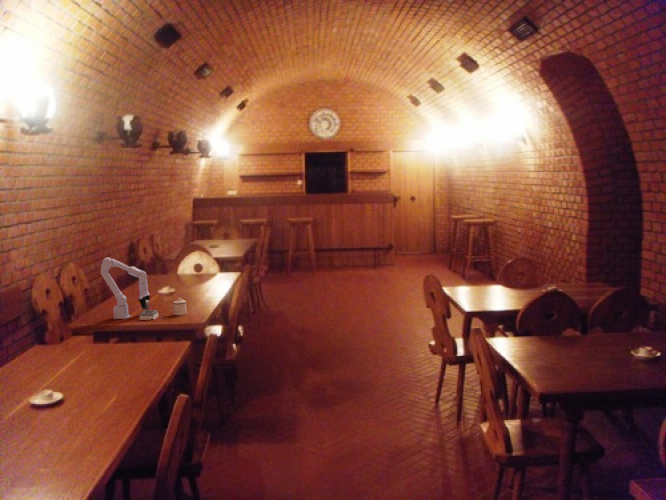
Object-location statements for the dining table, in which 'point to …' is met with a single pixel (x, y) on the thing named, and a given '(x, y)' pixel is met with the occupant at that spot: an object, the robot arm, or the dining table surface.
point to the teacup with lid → (179, 307)
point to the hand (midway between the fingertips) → (145, 306)
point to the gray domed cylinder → (146, 305)
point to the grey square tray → (148, 315)
